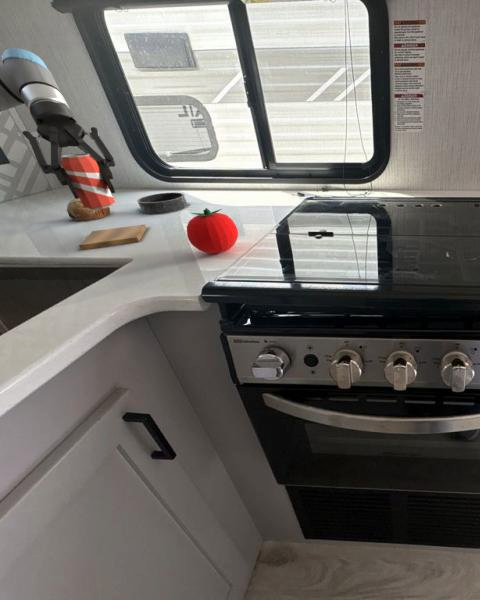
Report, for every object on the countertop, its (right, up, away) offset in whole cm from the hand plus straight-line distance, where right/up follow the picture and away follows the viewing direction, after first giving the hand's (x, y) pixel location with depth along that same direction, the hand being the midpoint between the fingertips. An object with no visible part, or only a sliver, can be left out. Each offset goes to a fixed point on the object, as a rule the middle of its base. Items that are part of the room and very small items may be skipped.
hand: (94, 192), depth 78 cm
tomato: (+30, -14, 0) cm, 33 cm away
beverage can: (-2, -2, +4) cm, 6 cm away
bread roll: (-24, +1, +26) cm, 36 cm away
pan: (-6, +5, +32) cm, 33 cm away
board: (-2, -9, +9) cm, 13 cm away
